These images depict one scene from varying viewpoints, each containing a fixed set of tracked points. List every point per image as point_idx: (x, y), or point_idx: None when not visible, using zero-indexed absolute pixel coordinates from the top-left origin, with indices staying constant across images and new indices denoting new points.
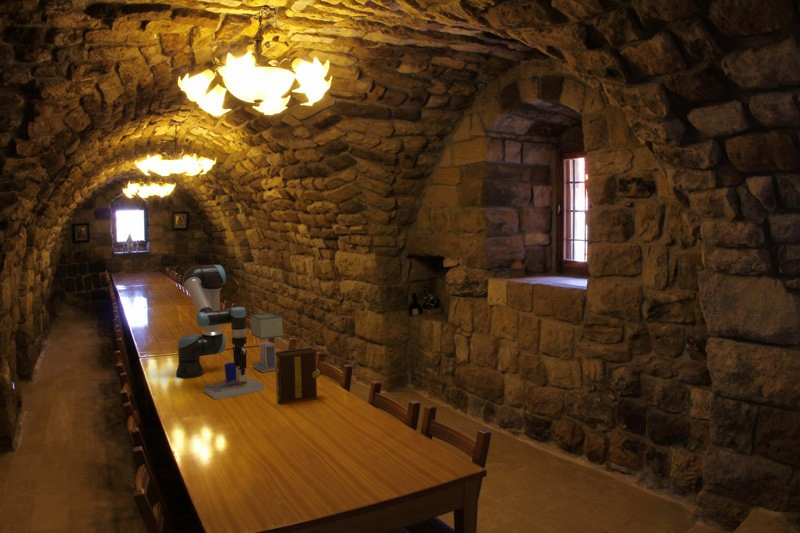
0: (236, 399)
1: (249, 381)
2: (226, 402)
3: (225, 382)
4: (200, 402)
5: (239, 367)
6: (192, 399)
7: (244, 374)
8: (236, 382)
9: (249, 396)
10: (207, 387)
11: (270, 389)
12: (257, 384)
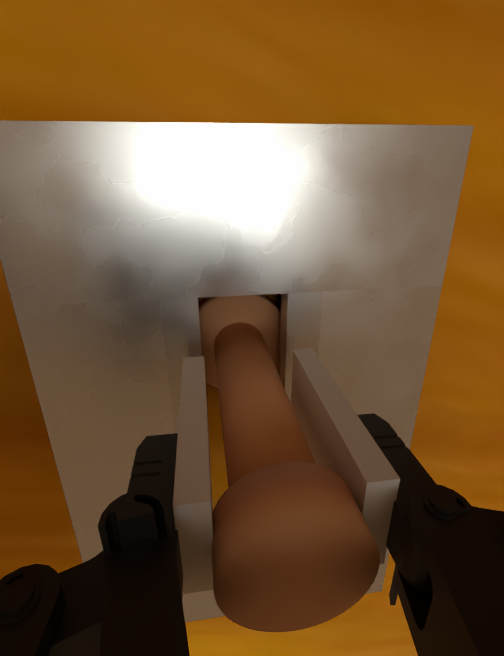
0: (474, 441)
1: (233, 243)
2: (476, 503)
3: (96, 483)
4: (350, 609)
5: (356, 589)
6: (254, 635)
7: (345, 399)
8: (173, 391)
9: (492, 343)
10: (185, 618)
11: (469, 50)
12: (446, 216)
